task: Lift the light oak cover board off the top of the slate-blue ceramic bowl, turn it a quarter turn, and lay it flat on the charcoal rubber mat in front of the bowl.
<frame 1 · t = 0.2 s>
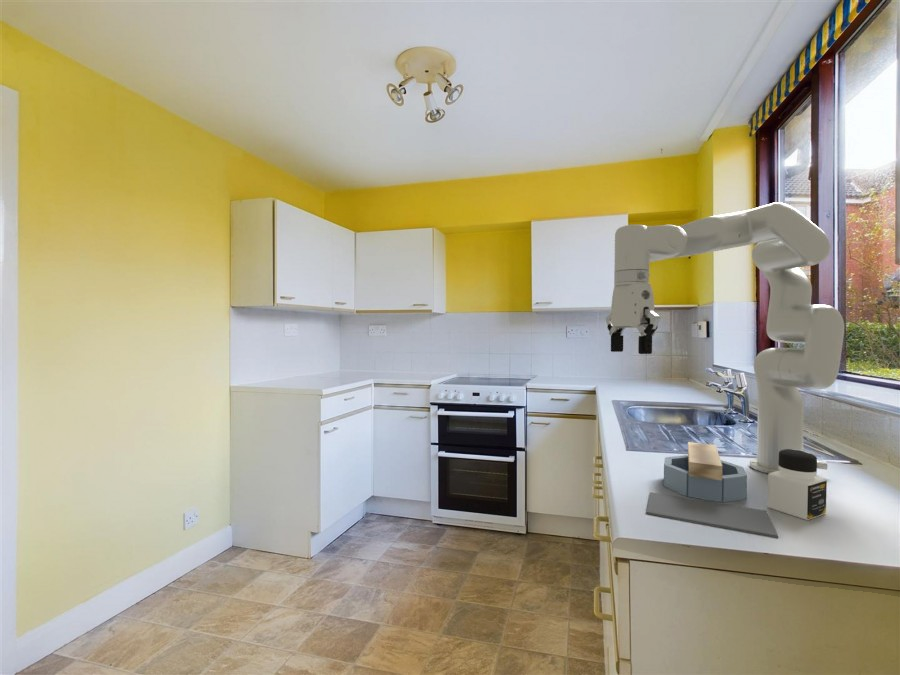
hand: (630, 352, 103), 31 cm above the countertop, tool pointing down, fingers open, 9 cm apart
ceramic bowl: (702, 487, 101), on the countertop
oak cover board: (703, 465, 101), point 5 cm above the countertop, touching ceramic bowl
medicine bottle: (796, 511, 88), on the countertop
rubber mat: (706, 513, 87), on the countertop
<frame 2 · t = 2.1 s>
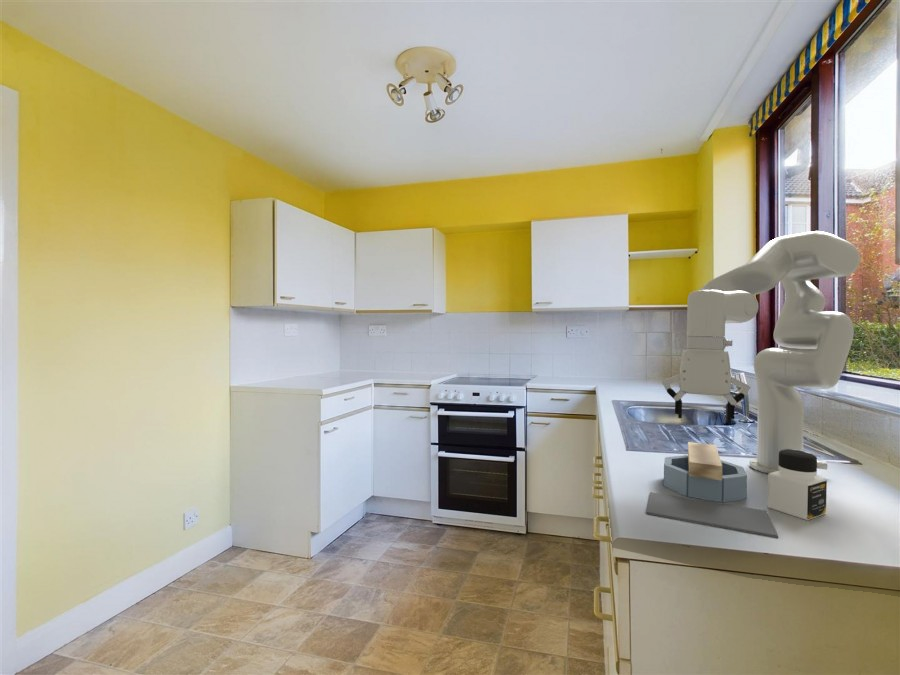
hand: (703, 419, 101), 16 cm above the countertop, tool pointing down, fingers open, 9 cm apart
nothing on the countertop moved.
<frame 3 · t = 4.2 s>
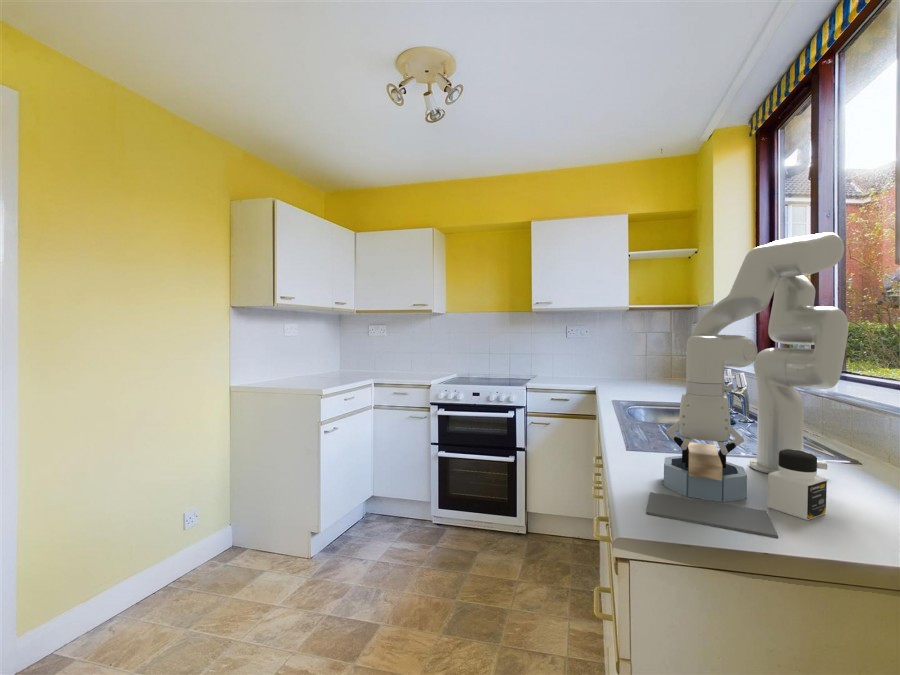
hand: (703, 467, 101), 5 cm above the countertop, tool pointing down, fingers closed on oak cover board, 6 cm apart
oak cover board: (703, 465, 101), point 5 cm above the countertop, touching ceramic bowl, gripper
everything else where it was.
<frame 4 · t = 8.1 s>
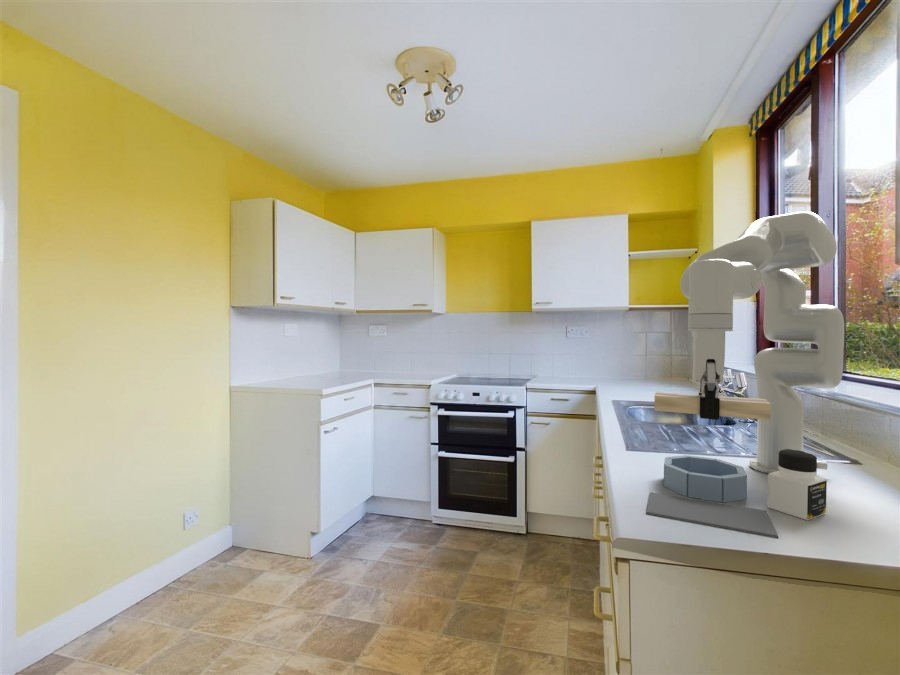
hand: (708, 414, 87), 19 cm above the countertop, tool pointing down, fingers closed on oak cover board, 6 cm apart
oak cover board: (708, 412, 87), point 20 cm above the countertop, touching gripper
everything else where it was.
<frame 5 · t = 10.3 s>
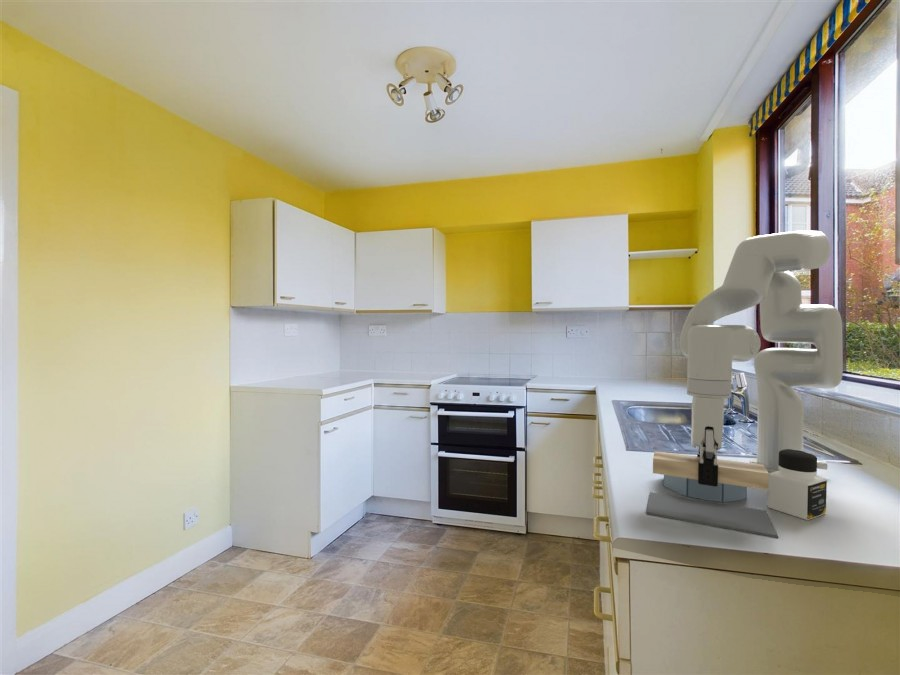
hand: (706, 478, 87), 7 cm above the countertop, tool pointing down, fingers closed on oak cover board, 6 cm apart
oak cover board: (706, 476, 87), point 7 cm above the countertop, touching gripper
everything else where it was.
when the fingers open (2 cm above the countertop, at t = 12.3 s): oak cover board drops 2 cm, resting on rubber mat.
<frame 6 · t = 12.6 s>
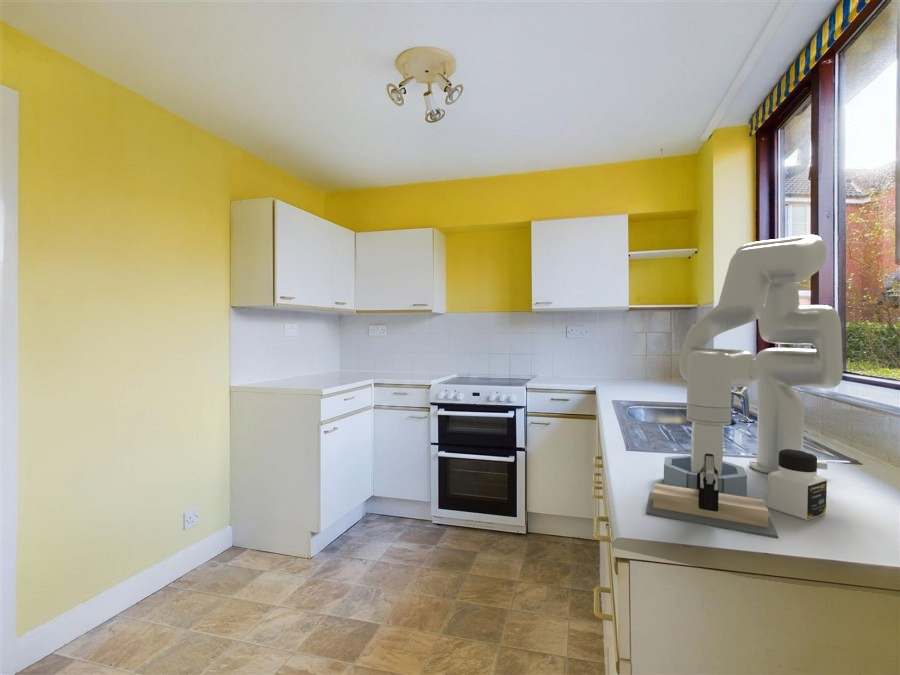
hand: (706, 500, 87), 2 cm above the countertop, tool pointing down, fingers open, 9 cm apart
oak cover board: (706, 511, 87), resting on rubber mat
everything else where it was.
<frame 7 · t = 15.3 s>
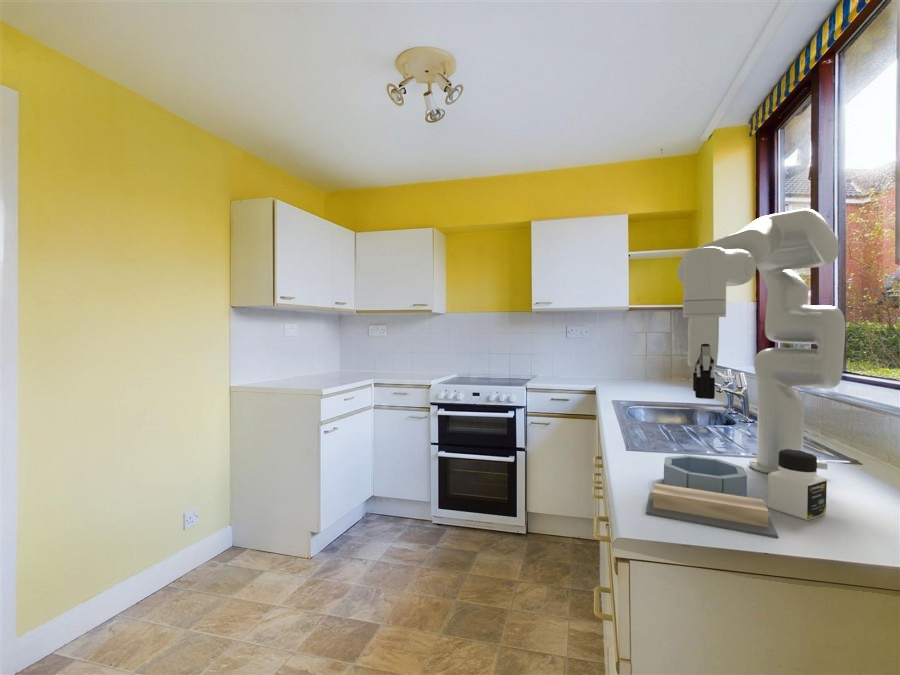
hand: (703, 394, 89), 23 cm above the countertop, tool pointing down, fingers open, 9 cm apart
nothing on the countertop moved.
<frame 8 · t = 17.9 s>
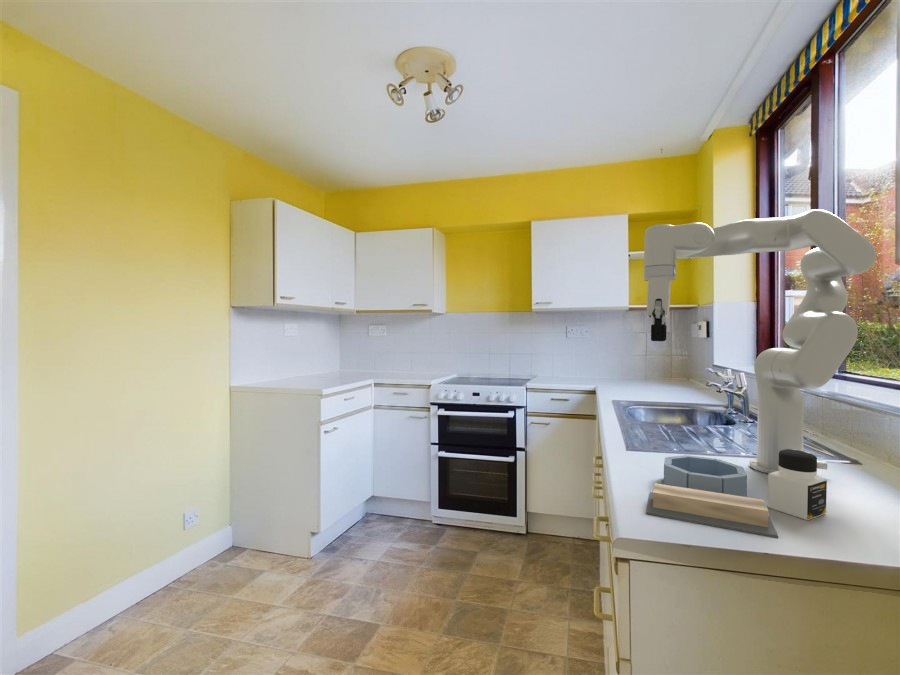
hand: (658, 340, 114), 33 cm above the countertop, tool pointing down, fingers open, 9 cm apart
nothing on the countertop moved.
at the end: oak cover board inside the target area (0.1 cm from its centre), resting on rubber mat; oak cover board tilted 0°; oak cover board touching rubber mat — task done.
